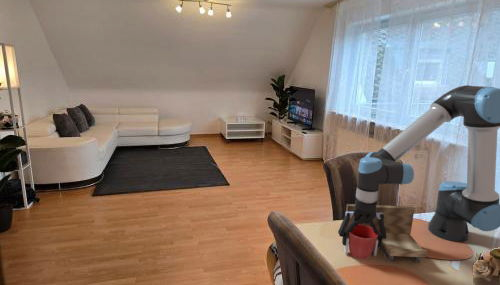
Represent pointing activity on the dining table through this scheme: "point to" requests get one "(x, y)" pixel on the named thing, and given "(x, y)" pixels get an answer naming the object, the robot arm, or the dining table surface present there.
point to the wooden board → (390, 218)
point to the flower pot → (362, 241)
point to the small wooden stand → (401, 247)
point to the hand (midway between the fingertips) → (359, 253)
